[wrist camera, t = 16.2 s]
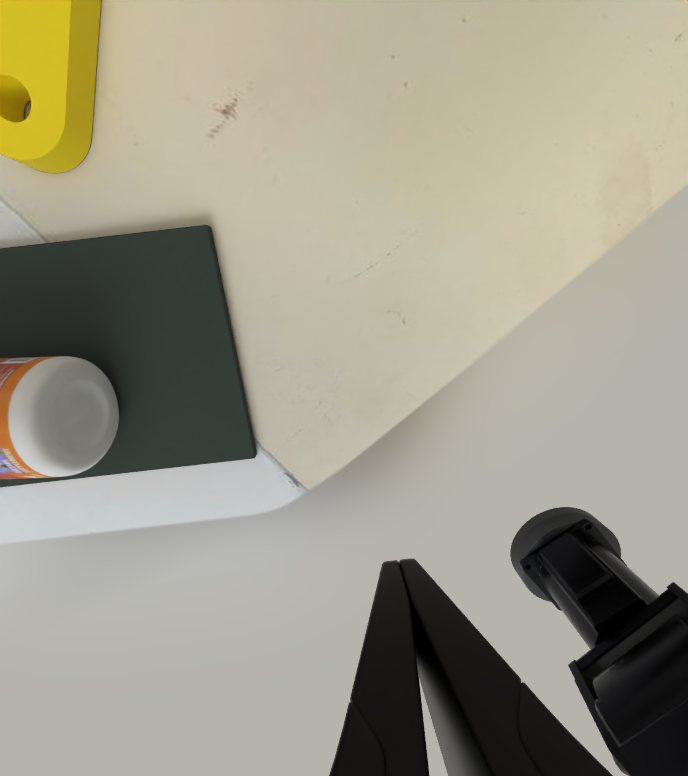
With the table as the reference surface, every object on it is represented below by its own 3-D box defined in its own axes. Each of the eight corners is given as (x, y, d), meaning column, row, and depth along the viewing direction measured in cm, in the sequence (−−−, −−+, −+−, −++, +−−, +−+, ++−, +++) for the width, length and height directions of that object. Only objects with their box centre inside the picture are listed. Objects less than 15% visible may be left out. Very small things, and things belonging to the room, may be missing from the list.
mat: (211, 227, 18) (207, 224, 17) (257, 454, 22) (255, 458, 21) (-254, 280, 18) (-274, 279, 17) (-127, 497, 22) (-139, 503, 21)
